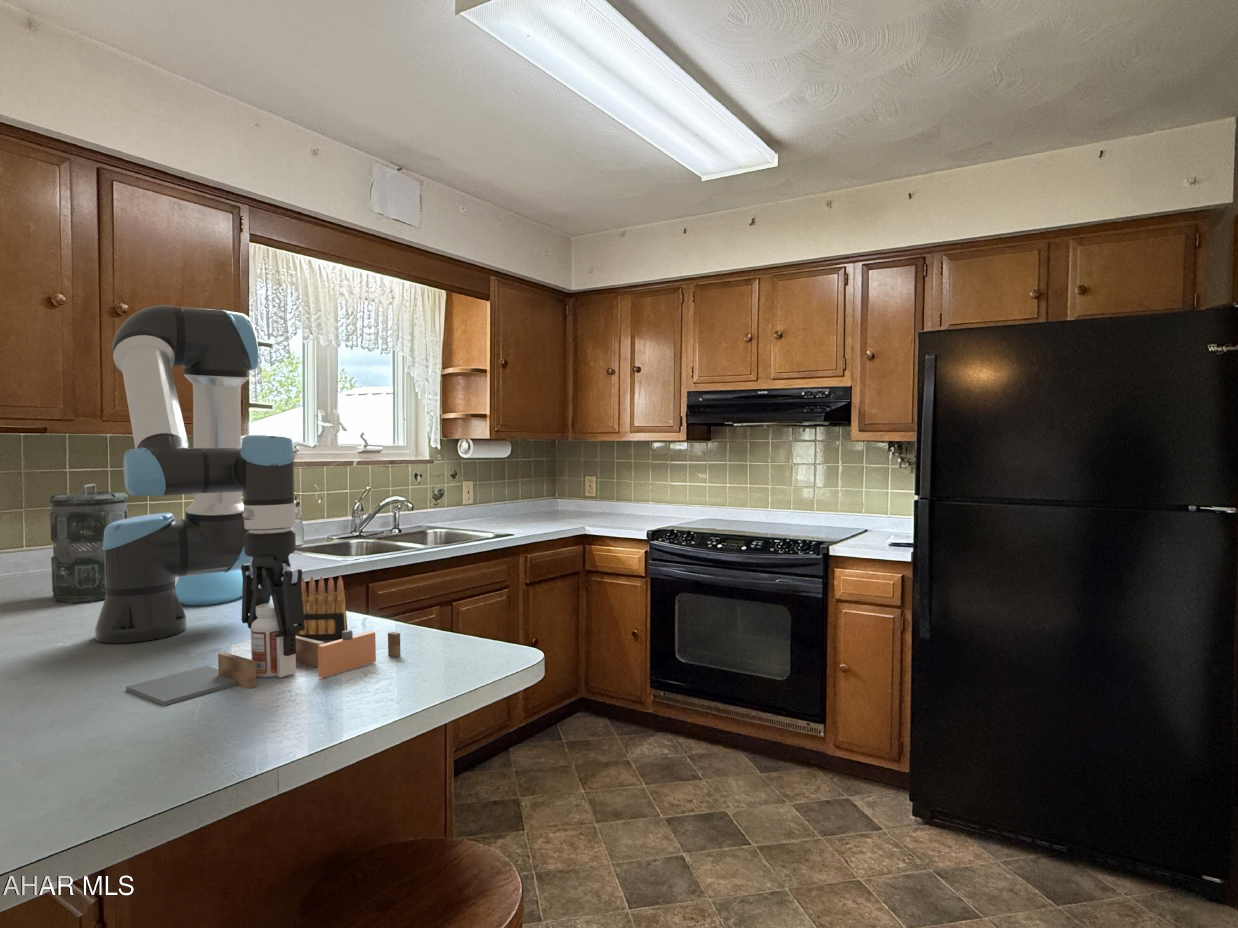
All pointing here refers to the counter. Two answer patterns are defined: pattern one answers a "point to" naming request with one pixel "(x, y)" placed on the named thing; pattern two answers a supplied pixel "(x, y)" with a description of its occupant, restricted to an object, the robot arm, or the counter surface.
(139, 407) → the robot arm
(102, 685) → the counter surface
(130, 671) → the counter surface
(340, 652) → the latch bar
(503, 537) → the counter surface
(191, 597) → the sugar bowl
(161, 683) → the mat
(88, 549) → the canister
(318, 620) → the ammunition clip
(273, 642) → the pill bottle
